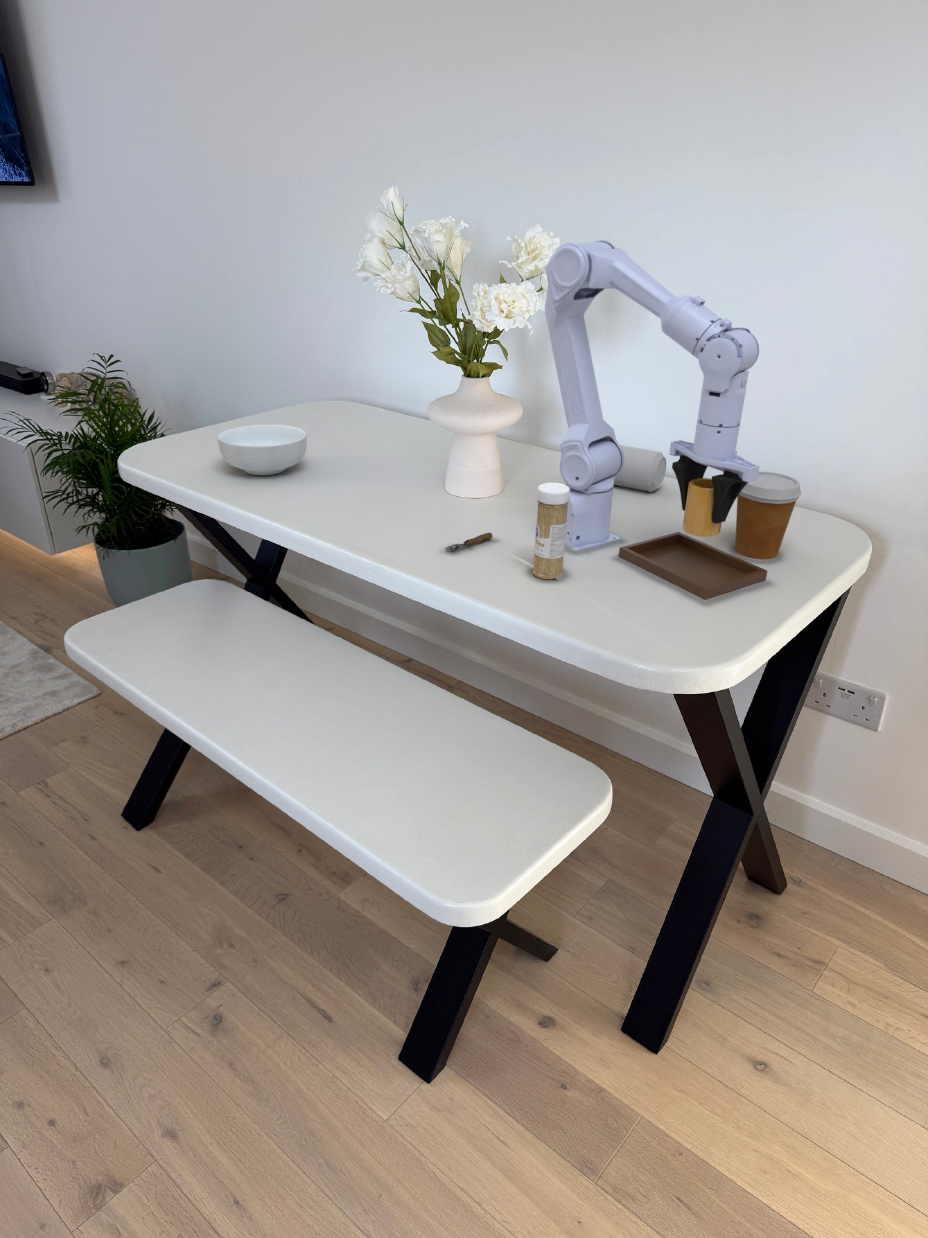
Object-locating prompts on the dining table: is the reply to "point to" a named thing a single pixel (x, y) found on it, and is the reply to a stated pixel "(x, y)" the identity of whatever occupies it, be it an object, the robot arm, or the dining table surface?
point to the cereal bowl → (263, 448)
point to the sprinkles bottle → (550, 530)
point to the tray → (693, 565)
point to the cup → (700, 509)
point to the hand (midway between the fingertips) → (703, 515)
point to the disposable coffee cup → (764, 514)
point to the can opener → (472, 541)
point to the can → (641, 469)
